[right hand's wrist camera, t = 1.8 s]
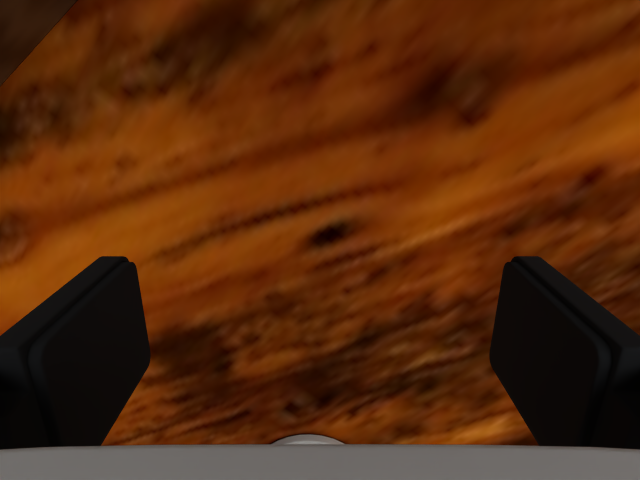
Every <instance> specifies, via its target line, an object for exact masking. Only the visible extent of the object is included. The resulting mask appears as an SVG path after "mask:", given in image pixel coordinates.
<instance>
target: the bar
mask: <svg viewBox="0 0 640 480" xmlns="http://www.w3.org/2000/svg"><path fill="white" fill-rule="evenodd" d="M76 1H77V0H0V86H1V85H2V83H3V82H4V81H5V80H6V79H7V78H8V77H9V76H10V75H11V73H12V72H13V71H14V70H15V69H16V68H17V67H18V66H19V65H20V63H21V62H22V61H23V60H24V59H25V58H26V57H27V56H28V55H29V53H30V52H31V51H32V50H33V49H34V48H35V47H36V46H37V44H38V43H39V42H40V41H41V40H42V39H43V38H44V37H45V36H46V34H47V33H48V32H49V31H50V30H51V29H52V28H53V27H54V26H55V24H56V23H57V22H58V21H59V20H60V19H61V18H62V17H63V16H64V14H65V13H66V12H67V11H68V10H69V9H70V8H71V7H72V6H73V4H74V3H75V2H76Z"/></svg>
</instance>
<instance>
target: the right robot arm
mask: <svg viewBox="0 0 640 480" xmlns="http://www.w3.org/2000/svg"><path fill="white" fill-rule="evenodd" d="M149 363H150V347H149V341H148V335H147V329H146V323H145V317H144V311H143V305H142V299H141V293H140V286H139V280H138V274H137V269H136V265H135V264H134V263H133V262H129V261H128V259H127V258H126V257H123V256H102V257H100V258H98V259H97V260H96V261H94V262H93V263H92V264H91V265H89V266H88V267H87V268H86V269H84V270H83V271H82V272H80V273H79V274H78V275H77V276H75V277H74V278H73V279H72V280H70V281H69V282H68V283H67V284H65V285H64V286H63V287H62V288H60V289H59V290H58V291H56V292H55V293H54V294H53V295H51V296H50V297H49V298H48V299H46V300H45V301H44V302H43V303H41V304H40V305H39V306H38V307H36V308H35V309H34V310H32V311H31V312H30V313H29V314H27V315H26V316H25V317H24V318H22V319H21V320H20V321H19V322H17V323H16V324H15V325H14V326H12V327H11V328H10V329H8V330H7V331H6V332H5V333H3V334H2V335H1V336H0V480H640V336H639V335H638V334H637V333H635V332H634V331H633V330H632V329H630V328H629V327H628V326H626V325H625V324H624V323H623V322H621V321H620V320H619V319H618V318H616V317H615V316H614V315H613V314H611V313H610V312H609V311H608V310H606V309H605V308H604V307H602V306H601V305H600V304H599V303H597V302H596V301H595V300H594V299H592V298H591V297H590V296H589V295H587V294H586V293H585V292H584V291H582V290H581V289H580V288H578V287H577V286H576V285H575V284H573V283H572V282H571V281H570V280H568V279H567V278H566V277H565V276H563V275H562V274H561V273H560V272H558V271H557V270H556V269H554V268H553V267H552V266H551V265H549V264H548V263H547V262H546V261H544V260H543V259H542V258H540V257H538V256H517V257H514V258H513V259H512V260H511V262H507V263H506V264H505V265H504V269H503V274H502V280H501V286H500V293H499V299H498V305H497V311H496V317H495V323H494V329H493V335H492V341H491V347H490V363H491V366H492V368H493V370H494V371H495V373H496V375H497V376H498V378H499V380H500V381H501V383H502V385H503V386H504V388H505V390H506V391H507V393H508V395H509V396H510V398H511V400H512V401H513V403H514V405H515V406H516V408H517V409H518V411H519V413H520V414H521V416H522V418H523V419H524V421H525V423H526V424H527V426H528V428H529V429H530V431H531V433H532V434H533V436H534V438H535V439H536V441H537V443H538V444H539V446H510V445H399V444H344V443H342V442H340V441H338V440H335V439H333V438H329V437H325V436H321V435H312V434H309V435H296V436H290V437H287V438H284V439H281V440H278V441H276V442H274V443H273V444H241V445H130V446H101V444H102V443H103V441H104V439H105V438H106V436H107V434H108V433H109V431H110V429H111V428H112V426H113V424H114V423H115V421H116V419H117V418H118V416H119V414H120V413H121V411H122V409H123V408H124V406H125V405H126V403H127V401H128V400H129V398H130V396H131V395H132V393H133V391H134V390H135V388H136V386H137V385H138V383H139V381H140V380H141V378H142V376H143V375H144V373H145V371H146V370H147V368H148V366H149Z"/></svg>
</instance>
